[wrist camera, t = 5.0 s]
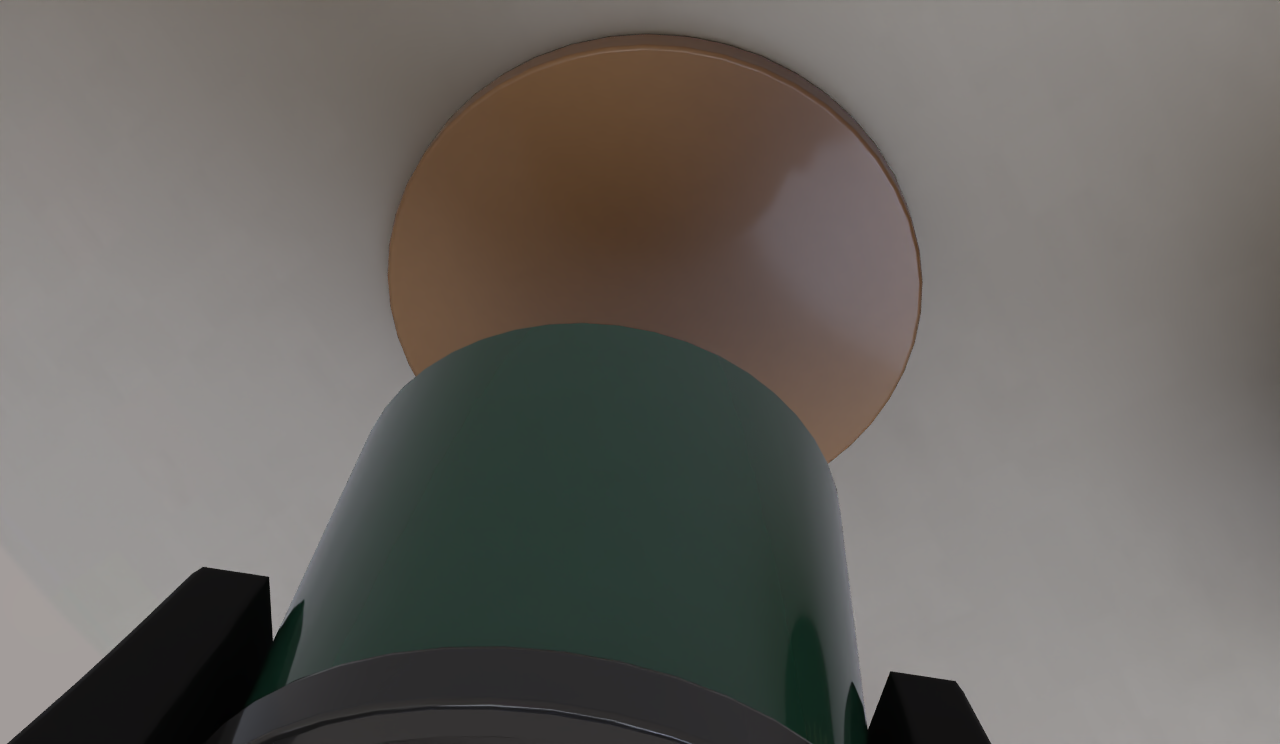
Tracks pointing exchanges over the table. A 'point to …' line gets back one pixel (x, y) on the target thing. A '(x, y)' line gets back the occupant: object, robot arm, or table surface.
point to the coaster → (667, 222)
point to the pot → (573, 562)
